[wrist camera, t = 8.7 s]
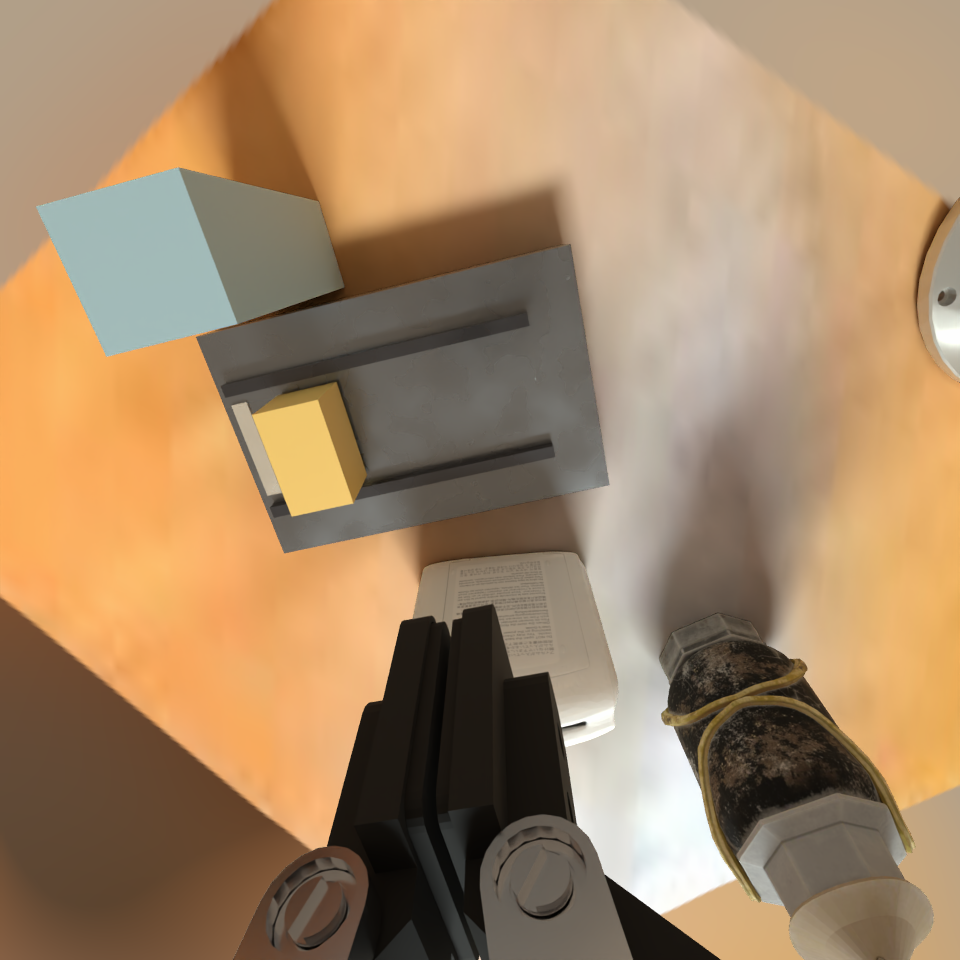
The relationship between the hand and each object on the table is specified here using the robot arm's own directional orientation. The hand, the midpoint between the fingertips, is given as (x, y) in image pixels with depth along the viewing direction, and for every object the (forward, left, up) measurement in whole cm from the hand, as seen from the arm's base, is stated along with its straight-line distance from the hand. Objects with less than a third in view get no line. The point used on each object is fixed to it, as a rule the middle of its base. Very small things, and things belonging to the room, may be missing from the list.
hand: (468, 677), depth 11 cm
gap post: (+7, -9, -22) cm, 25 cm away
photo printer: (+1, +12, -23) cm, 26 cm away
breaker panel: (+3, 0, -22) cm, 23 cm away
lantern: (-11, +20, -23) cm, 32 cm away
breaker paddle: (+8, 0, -20) cm, 21 cm away
